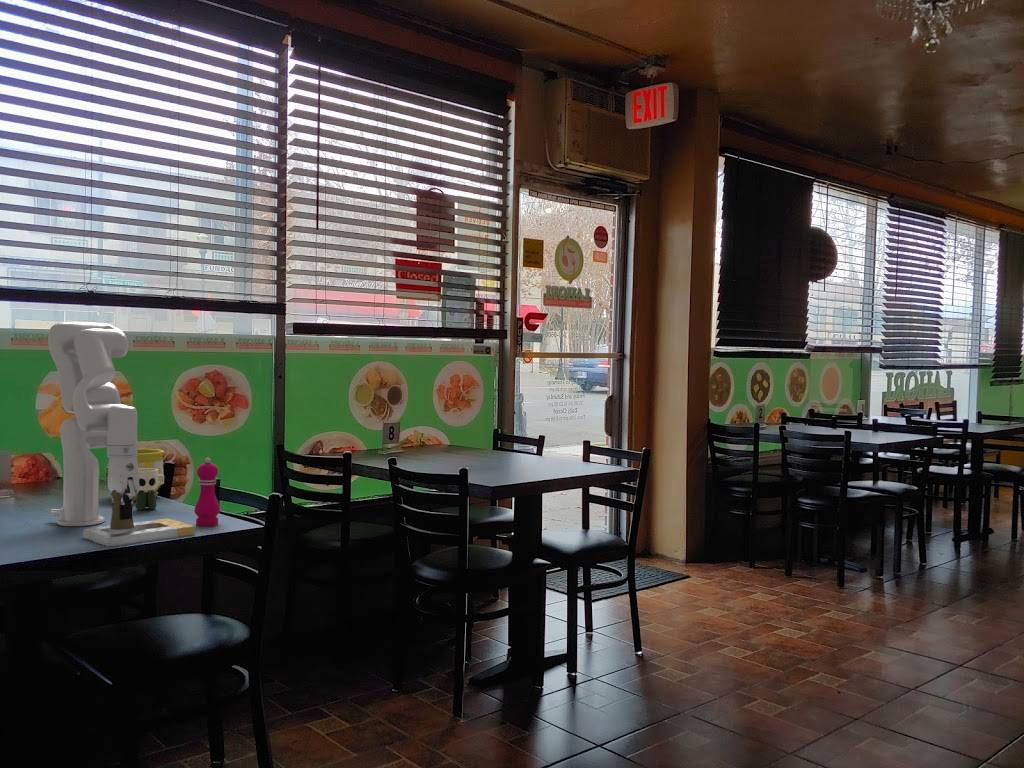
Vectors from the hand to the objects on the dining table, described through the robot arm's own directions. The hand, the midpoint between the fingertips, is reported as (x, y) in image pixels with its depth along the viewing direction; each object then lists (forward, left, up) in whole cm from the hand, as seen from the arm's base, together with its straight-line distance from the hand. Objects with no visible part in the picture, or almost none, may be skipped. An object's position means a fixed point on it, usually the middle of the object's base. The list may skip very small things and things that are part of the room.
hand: (122, 517), depth 241 cm
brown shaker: (0, 0, -3) cm, 3 cm away
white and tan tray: (+3, +4, -6) cm, 8 cm away
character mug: (-11, +46, -6) cm, 47 cm away
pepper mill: (+16, +22, -6) cm, 28 cm away
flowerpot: (-23, +69, -6) cm, 73 cm away
